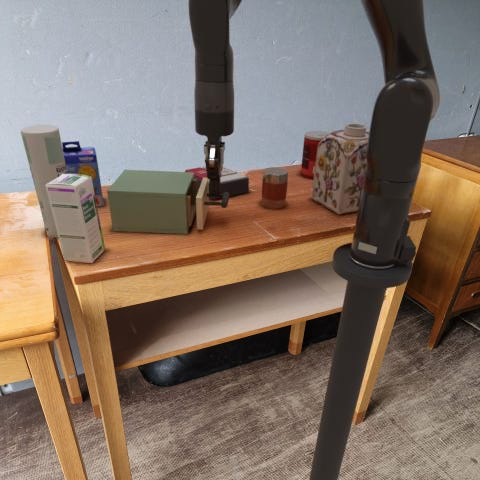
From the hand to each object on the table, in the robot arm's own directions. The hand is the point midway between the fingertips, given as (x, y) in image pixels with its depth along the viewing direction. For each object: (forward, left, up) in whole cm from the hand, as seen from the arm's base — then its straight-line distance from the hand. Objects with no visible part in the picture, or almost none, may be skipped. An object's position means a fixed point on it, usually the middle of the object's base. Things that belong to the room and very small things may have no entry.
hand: (215, 195), depth 94 cm
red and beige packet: (+2, -22, -6) cm, 23 cm away
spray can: (+31, +8, -6) cm, 33 cm away
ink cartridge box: (+32, -7, -6) cm, 33 cm away
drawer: (+7, 0, -5) cm, 8 cm away
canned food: (-25, -36, -6) cm, 44 cm away
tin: (-13, -12, -6) cm, 19 cm away
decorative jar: (-30, -14, -6) cm, 34 cm away
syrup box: (+23, +18, -6) cm, 30 cm away
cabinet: (+13, 0, -6) cm, 14 cm away
